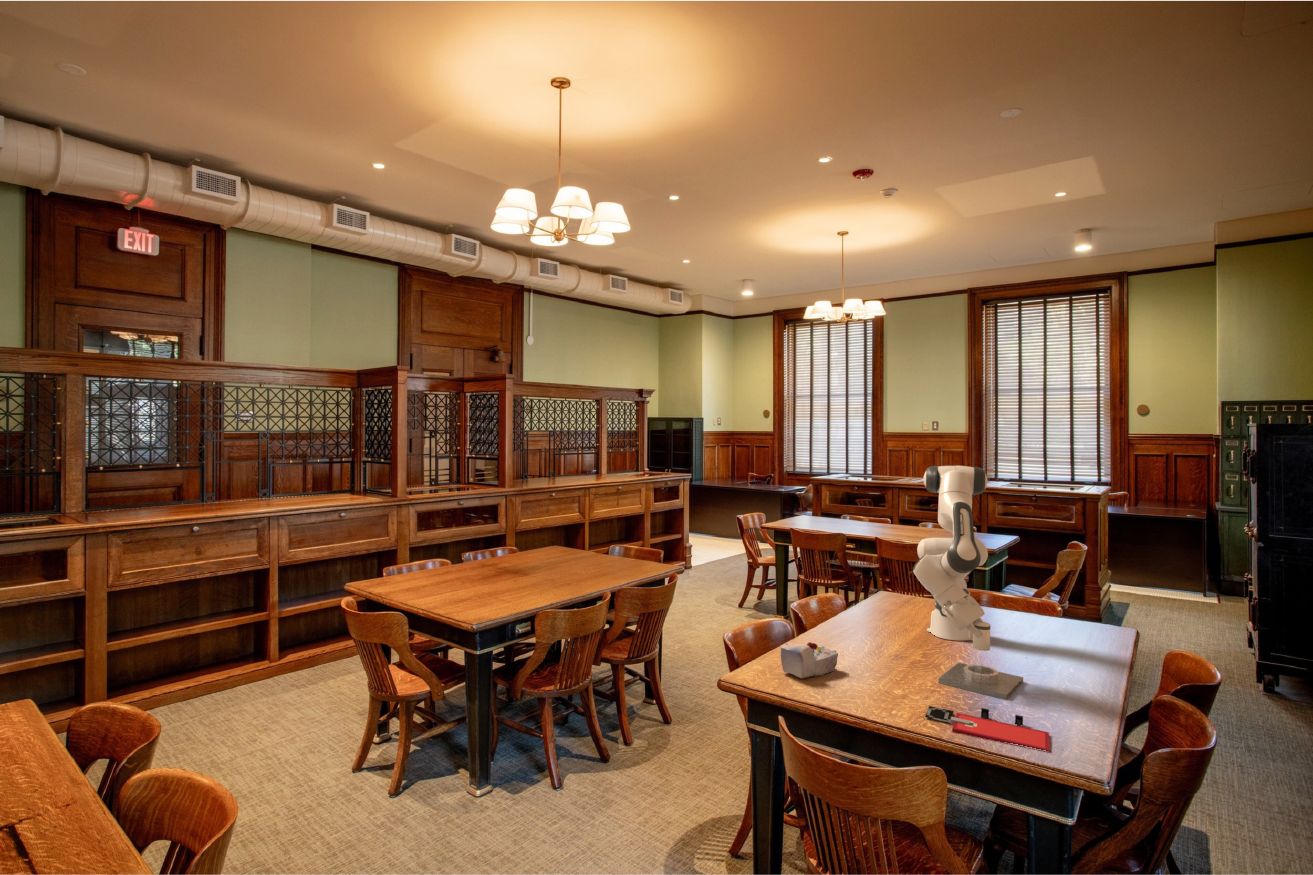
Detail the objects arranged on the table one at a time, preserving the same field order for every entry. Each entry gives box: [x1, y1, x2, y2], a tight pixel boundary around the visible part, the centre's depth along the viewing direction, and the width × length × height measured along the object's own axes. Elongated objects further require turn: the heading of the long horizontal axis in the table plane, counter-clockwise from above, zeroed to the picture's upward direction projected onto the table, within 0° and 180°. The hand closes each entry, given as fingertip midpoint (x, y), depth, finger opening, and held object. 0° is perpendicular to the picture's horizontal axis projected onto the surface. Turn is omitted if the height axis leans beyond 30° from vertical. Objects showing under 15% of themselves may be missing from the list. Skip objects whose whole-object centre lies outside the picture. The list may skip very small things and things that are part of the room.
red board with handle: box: [925, 705, 1051, 753], centre depth 179 cm, size 30×3×15 cm
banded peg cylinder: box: [972, 621, 991, 652], centre depth 213 cm, size 5×5×8 cm
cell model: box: [780, 641, 839, 679], centre depth 221 cm, size 13×11×20 cm
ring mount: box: [938, 662, 1024, 701], centre depth 213 cm, size 20×20×4 cm
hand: (983, 634), depth 212 cm, fingers closed on banded peg cylinder, 5 cm apart
